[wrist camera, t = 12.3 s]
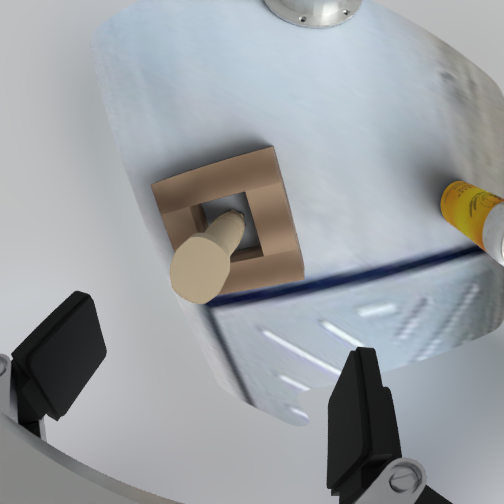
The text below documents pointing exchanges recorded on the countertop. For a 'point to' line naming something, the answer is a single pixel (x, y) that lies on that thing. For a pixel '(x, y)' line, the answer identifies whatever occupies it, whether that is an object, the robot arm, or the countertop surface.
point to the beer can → (476, 216)
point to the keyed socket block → (262, 208)
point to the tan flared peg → (206, 259)
